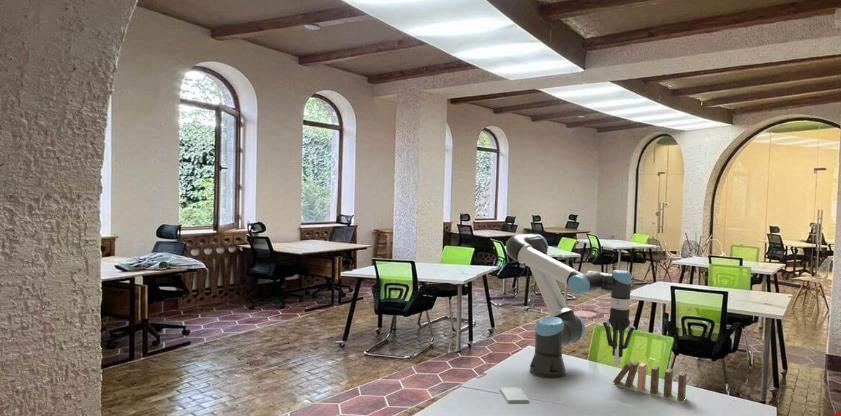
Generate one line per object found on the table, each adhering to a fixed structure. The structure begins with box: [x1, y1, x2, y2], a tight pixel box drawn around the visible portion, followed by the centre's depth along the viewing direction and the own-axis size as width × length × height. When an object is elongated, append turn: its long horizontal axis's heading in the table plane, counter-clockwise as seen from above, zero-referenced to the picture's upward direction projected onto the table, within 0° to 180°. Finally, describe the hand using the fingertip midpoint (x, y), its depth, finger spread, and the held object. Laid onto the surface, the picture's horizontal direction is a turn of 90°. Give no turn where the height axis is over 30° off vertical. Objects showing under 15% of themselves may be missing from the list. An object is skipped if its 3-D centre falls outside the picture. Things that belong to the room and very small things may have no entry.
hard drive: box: [499, 387, 530, 404], centre depth 204 cm, size 2×8×12 cm
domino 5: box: [663, 368, 674, 398], centre depth 209 cm, size 2×5×10 cm, turn 142°
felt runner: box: [607, 377, 688, 404], centre depth 215 cm, size 29×8×1 cm, turn 52°
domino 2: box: [625, 360, 640, 388], centre depth 218 cm, size 2×5×10 cm, turn 143°
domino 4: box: [649, 365, 660, 395], centre depth 212 cm, size 2×5×10 cm, turn 142°
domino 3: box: [636, 362, 647, 392], centre depth 215 cm, size 2×5×10 cm, turn 142°
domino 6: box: [677, 371, 688, 402], centre depth 206 cm, size 2×5×10 cm, turn 142°
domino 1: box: [613, 360, 633, 386], centre depth 220 cm, size 2×5×10 cm
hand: (617, 363), depth 221 cm, fingers closed
